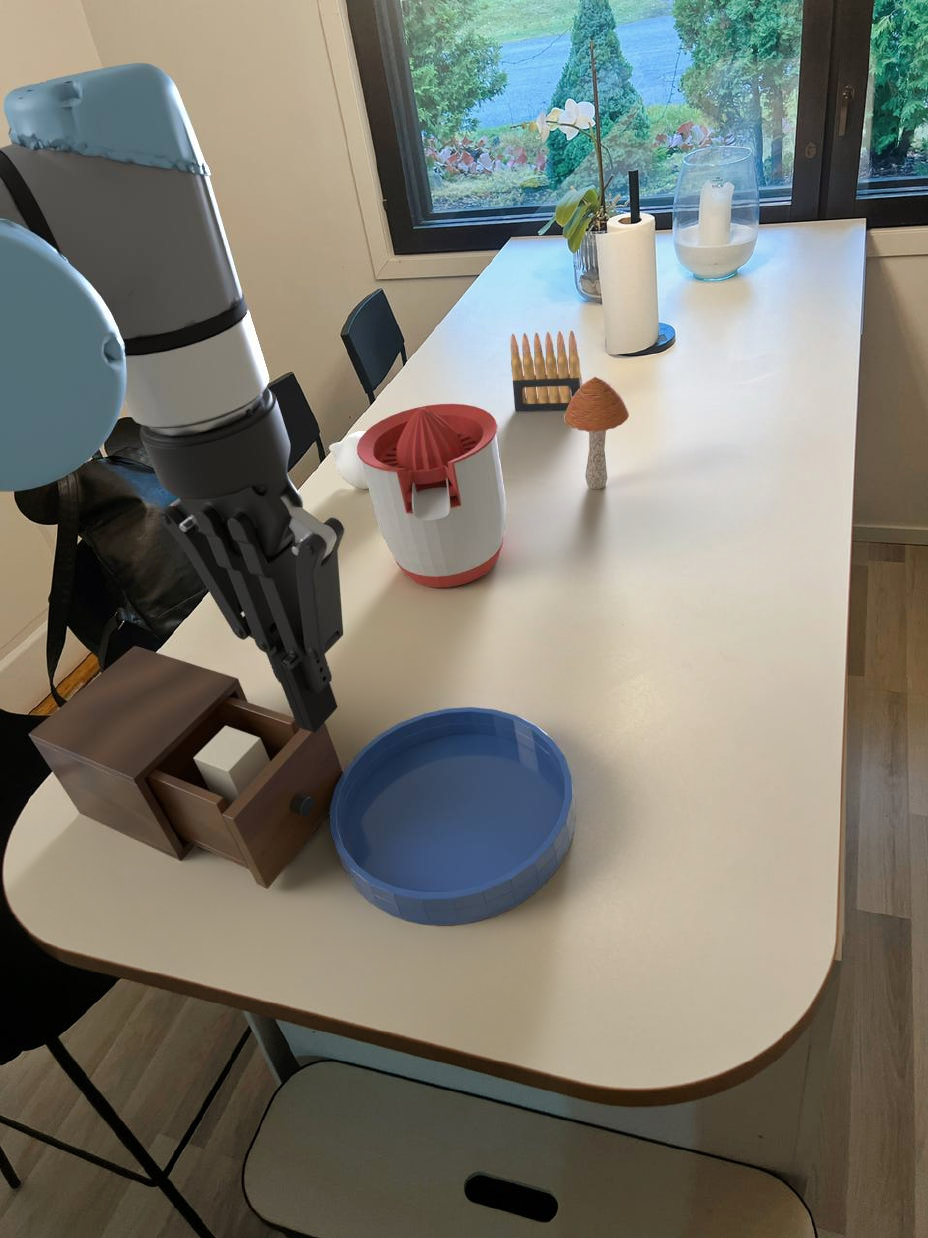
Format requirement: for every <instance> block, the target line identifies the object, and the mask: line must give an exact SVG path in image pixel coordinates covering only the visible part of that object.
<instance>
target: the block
mask: <svg viewBox="0 0 928 1238" xmlns="http://www.w3.org/2000/svg"><path fill="white" fill-rule="evenodd" d="M194 760H195V762H196V764H197V766H198V768H199V770H200V772H201V774H202V776H203V778H204V780H205V782H206V784H207V786H208V788H209V790H210V792H212V793H214V794H217V795H219V796H221V797H223V798H224V800H225V802H226V804H227V806H228V808H229V807H230V806H231V804H232V803H233V802H234V801H235V800H236V799H237V798H238V797H239V796H240V795H241V794H242V792H243V791H244V790H245V789H246V788H247V787H248V786H249V785H250V784H251V783H252V781H253V780H254V779H255V778H256V777H257V776H258V775H259V774H260V773H261V772H262V771H263V769H264V768H265V767H266V766H267V765H268V764H269V763H270V760H269V757H268V755H267V753H266V750H265V748H264V746H263V743H262V741H261V739H260V738H259V737H256V736H253V735H251V734H248V733H245V732H242V731H239V730H237V729H234V728H231V727H228V726H225V727H224V728H223V729H222V730H221V731H220V732H219V733H218V734H217V735H216V736H215V737H214V738H213V739H212V740H211V741H210V742H209V743H208V744H207V745H206V746H205V747H204V748H203V749H202V750H201V751H200V752H199V753H198V754H197V755H196V756H195V757H194Z"/></svg>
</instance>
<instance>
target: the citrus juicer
mask: <svg viewBox="0 0 928 1238" xmlns="http://www.w3.org/2000/svg"><path fill="white" fill-rule="evenodd" d="M497 432H498V424H497V420H496V419H495V417H494V416H493V415H492V414H491V413H490V412H488V411H487V410H485V409H484V408H480V407H478V406H474V405H469V404H460V403H437V404H428V405H424V406H418V407H414V408H410V409H407V410H406V409H405V410H402V411H400V412H397V413H395V414H392V415H390V416H388V417H386V418H384V419H381V420H380V421H378V422H377V423H375V424H373V425H371V426H370V427H369V428H368V429H367V430H366V431H365V433H364V434H363V435H362V437H361V438H360V440H359V442H358V445H357V454H358V456H359V458H360V459H361V460H362V463H363V467H364V471H365V475H366V479H367V483H368V487H369V488H368V491H369V494H370V498H371V502H372V507H373V509H374V511H373V512H374V515H375V518H376V521H377V524H378V528H379V530H380V534H381V535H382V537H383V539H384V541H385V544H386V545H387V548H388V550H389V552H390V553H391V555H392V557H393V558H394V560H395V562H396V564H397V565H398V567H399V568H400V569H401V571H402V572H403V573H404V574H405V575H406V576H407V577H408V579H410V580H411V581H413V583H416V584H418V585H421V586H423V587H430V588H450V587H451V588H452V587H456V586H462V585H465V584H468V583H471V582H473V581H475V580H478V579H479V578H482V577H483V576H484V575H486V574H488V573H489V572H490V571H491V570H492V569H493V568H494V566H495V565H496V564H497V561H498V559H499V557H500V554H501V551H502V547H503V544H504V533H505V525H506V509H507V508H506V507H507V505H506V495H505V487H504V479H503V473H502V465H501V459H500V453H499V446H498V439H497Z"/></svg>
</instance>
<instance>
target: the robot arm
mask: <svg viewBox="0 0 928 1238" xmlns="http://www.w3.org/2000/svg"><path fill="white" fill-rule="evenodd" d="M3 112H4V115H5V118H6V121H7V124H8V127H9V131H8V133H7V135H8V137H9V139H10V143H11V144H9V145H5V146H3V147H0V493H1V492H2V493H3V492H4V493H8V492H11V493H12V492H13V493H14V492H20V491H26V490H33V489H36V488H40V487H43V486H46V485H49V484H51V483H54V482H56V481H58V480H61V479H64V478H65V477H66V476H68V475H70V474H71V473H73V472H75V471H76V470H78V469H79V468H80V467H82V466H83V465H84V464H85V463H87V462H88V461H89V460H91V458H92V457H93V456H94V455H96V453H98V451H100V449H101V448H102V447H103V445H104V444H105V442H106V441H107V440H108V438H109V437H110V435H111V434H112V432H113V431H114V428H115V426H116V425H117V422H118V420H119V417H120V414H121V412H122V409H123V405H124V404H125V406H126V409H127V412H128V413H129V416H130V417H131V418H132V420H133V421H134V422H135V423H137V424H139V425H140V430H139V437H140V439H141V442H142V444H143V447H144V448H145V451H146V454H147V456H148V459H149V461H150V464H151V467H152V468H153V471H154V473H155V475H156V477H157V480H158V483H159V484H160V486H161V487H162V488H163V489H164V491H166V492H167V493H169V494H171V495H172V496H175V497H178V498H176V500H174V501H173V502H172V503H170V504H169V505H168V506H166V507H164V508H163V509H162V510H160V511H159V512H158V518H159V520H160V522H161V523H162V524H163V526H164V527H165V528H166V529H167V530H168V531H169V533H170V534H171V535H172V536H173V537H174V539H176V541H177V542H178V543H179V544H180V545H181V547H182V549H183V550H184V552H185V554H186V556H187V557H188V559H189V560H190V562H191V564H192V566H193V567H194V569H195V570H196V572H197V574H198V575H199V578H200V579H201V580H202V582H203V584H204V585H205V587H206V589H207V590H208V592H209V594H210V595H211V597H212V599H213V601H214V602H215V604H216V606H217V608H218V609H219V611H220V612H221V614H222V615H223V617H224V619H225V621H226V622H227V624H228V625H229V626H228V627H230V629H231V631H232V633H233V634H234V635H235V636H236V637H237V638H238V639H239V640H246V639H248V638H251V639H253V640H254V643H255V645H256V647H257V648H258V649H259V650H260V651H261V652H263V653H265V654H266V658H267V659H268V662H269V664H270V667H271V669H272V671H273V675H274V677H275V678H276V680H277V681H278V683H280V684H281V687H282V690H283V693H284V695H285V698H286V700H287V703H288V706H289V708H290V710H291V713H292V717H294V718H295V721H296V724H297V726H298V727H299V728H300V729H301V728H302V729H305V730H308V731H311V732H314V733H315V732H316V731H317V730H318V729H319V728H320V727H321V726H322V724H323V723H324V722H325V723H326V721H327V720H328V719H329V718H330V717H331V716H332V715H333V714H334V712H335V711H336V710H337V709H338V707H339V706H338V704H337V700H336V698H335V697H336V696H335V694H334V691H333V689H332V686H331V682H332V679H333V676H332V672H331V670H330V666H329V664H328V660H327V658H326V654H327V652H329V650H331V648H332V647H333V646H335V644H336V643H337V642H339V640H340V639H341V638H342V637H343V636H344V621H343V609H342V597H341V583H340V582H341V581H340V567H339V553H338V552H339V551H338V550H339V548H340V545H341V542H342V539H343V537H344V534H345V527H344V525H343V523H342V522H341V521H340V520H339V519H338V518H335V517H333V516H332V517H331V516H330V517H329V518H327V519H326V520H325V521H323V522H322V521H321V520H319V519H318V518H316V517H315V516H314V515H312V514H311V513H310V512H308V510H306V509H304V508H303V507H304V501H303V498H302V496H301V493H300V492H299V490H298V489H297V488H296V486H295V485H294V484H293V482H292V480H291V478H290V477H289V474H288V465H289V459H290V455H291V442H290V438H289V435H288V431H287V429H286V426H285V422H284V418H283V416H282V412H281V409H280V407H279V406H280V405H279V403H278V400H277V399H278V398H277V395H276V394H275V393H274V392H273V391H272V390H271V389H269V388H268V385H269V383H270V377H269V372H268V369H267V366H266V362H265V359H264V355H263V353H262V350H261V346H260V343H259V340H258V336H257V334H256V330H255V326H254V324H253V320H252V316H251V313H250V311H249V308H248V305H247V301H246V299H245V295H244V293H243V290H242V287H241V282H240V280H239V277H238V273H237V268H236V266H235V262H234V259H233V255H232V252H231V248H230V245H229V242H228V238H227V235H226V231H225V228H224V227H225V226H224V224H223V221H222V217H221V214H220V209H219V206H218V202H217V200H216V196H215V193H214V189H213V186H212V182H211V179H210V176H211V172H210V168H209V165H208V164H207V163H206V161H205V158H204V156H203V153H202V150H201V147H200V144H199V142H198V139H197V136H196V133H195V131H194V127H193V125H192V122H191V119H190V116H189V113H188V112H187V110H186V108H185V105H184V103H183V100H182V97H181V95H180V92H179V90H178V88H177V85H176V84H175V82H174V81H173V79H172V78H171V77H170V76H169V74H167V72H165V71H163V70H162V69H161V68H159V67H158V66H156V65H154V64H152V63H147V62H146V63H145V62H134V63H125V64H118V65H113V66H107V67H103V68H98V69H92V70H87V71H83V72H82V71H81V72H77V73H73V74H69V75H64V76H59V77H56V78H52V79H47V80H46V81H42V82H41V81H40V82H39V83H31V84H27V85H23V86H20V87H17V88H15V89H12V90H10V91H9V92H8V93H7V94H6V96H5V98H4V100H3ZM242 613H243V614H244V615H242Z"/></svg>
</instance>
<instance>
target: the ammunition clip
mask: <svg viewBox="0 0 928 1238" xmlns="http://www.w3.org/2000/svg"><path fill="white" fill-rule="evenodd" d="M544 345H545V346H544V347H545V356H544V352H543V346H542V341H541V337H540V335H539V334H538V332H535V333H534V338H533V354H534V355H533V356H534V359H533V357H532V351H531V350H532V349H531V344H530V340H529V338H528V335H527V334H526V332H524V333H523V335H522V340H521V347H522V348H521V350H522V357H521V354H520V349H519V344H518V340H517V338H516V335H515V334H514V333H512V334H511V336H510V358H511V359H510V364H511V374H512V375H511V376H512V389H513V403H514V412H515V413H522V412H523V413H524V412H525V413H526V412H529V413H530V412H563V411H565V412H566V410H567V408H568V405H569V403H570V401H571V399H572V397H573V396H574V395H575V393H576V392H577V391H578V389H579V388H580V387H581V386H582V385H583V379H582V373H581V363H580V356H579V352H578V344H577V338H576V336H575V334H574V331H573V330H570V331H569V335H568V356H567V350H566V344H565V339H564V336H563V333H562V331H558V333H557V338H556V354H555V348H554V343H553V338H552V335H551V333H550V332H549V331H547V332H546V335H545V343H544ZM556 355H557V357H556Z"/></svg>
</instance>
